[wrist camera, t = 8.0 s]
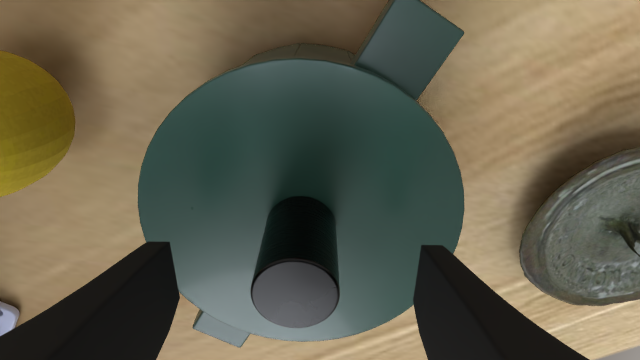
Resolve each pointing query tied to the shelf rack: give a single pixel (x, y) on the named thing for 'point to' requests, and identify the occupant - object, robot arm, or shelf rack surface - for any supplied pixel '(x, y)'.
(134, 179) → the shelf rack surface
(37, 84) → the lemon
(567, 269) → the metal candle holder
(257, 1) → the shelf rack surface
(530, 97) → the shelf rack surface
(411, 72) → the pot
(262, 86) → the pot lid
